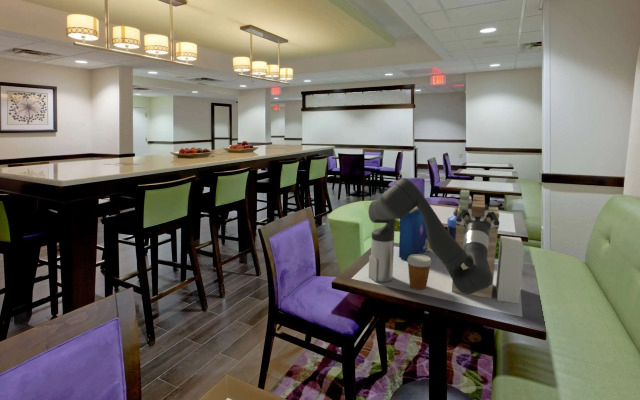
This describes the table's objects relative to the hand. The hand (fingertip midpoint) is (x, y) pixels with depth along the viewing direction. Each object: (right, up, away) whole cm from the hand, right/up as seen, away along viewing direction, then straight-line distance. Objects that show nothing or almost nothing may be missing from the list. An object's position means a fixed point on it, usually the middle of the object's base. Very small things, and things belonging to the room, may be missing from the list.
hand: (478, 205), depth 131 cm
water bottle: (+11, -26, +52) cm, 59 cm away
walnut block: (+2, -2, +6) cm, 7 cm away
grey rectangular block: (+15, -34, +10) cm, 39 cm away
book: (-10, -26, +55) cm, 61 cm away
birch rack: (+4, -33, +16) cm, 37 cm away
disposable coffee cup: (-17, -33, +17) cm, 41 cm away
